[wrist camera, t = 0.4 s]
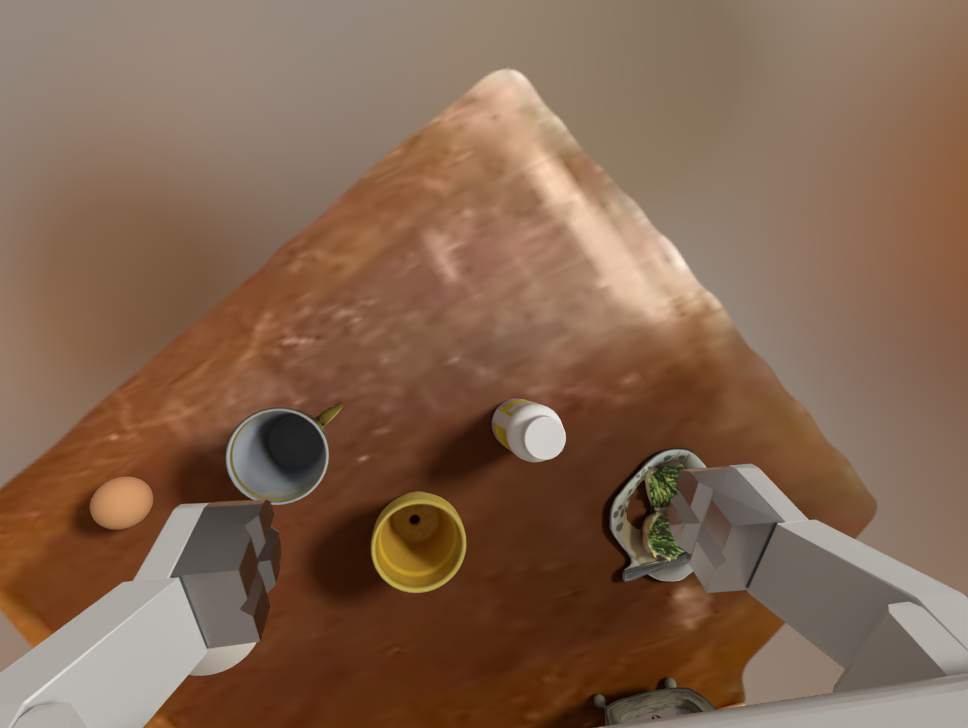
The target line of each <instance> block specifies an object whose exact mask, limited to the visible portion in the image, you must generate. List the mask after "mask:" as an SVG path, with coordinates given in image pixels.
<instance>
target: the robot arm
mask: <svg viewBox="0 0 968 728" xmlns="http://www.w3.org/2000/svg"><path fill="white" fill-rule="evenodd" d="M675 485H676V487H677V488H678V490H679V493H678V494H677V495H676V496H675V497H674V498H673V499H671V500H670V504H669V508H668V523H669V528H670V531H671V534H672V536H673V538H674V540H675V541H676V543H677V545H678V546H679V547H680V548H682V549H683V550H685V551H686V552H688V553H689V554H691V557H690V563H689V565H690V566H691V568H692V570H693V571H694V573H695V574H696V576H697V578H698V579H699V581H700V583H701V584H702V586H703V587H704V589H705V591H706V592H707V593H711V592H724V591H737V590H748V591H747V592H748V593H749V594H750V595H752V596H753V597H754V598H755V599H757V600H758V601H759V602H761V603H762V604H763V605H764V606H766V607H767V608H768V609H769V610H771V611H772V612H773V613H774V614H776V615H777V616H778V617H780V618H781V619H782V620H783V621H785V622H786V623H787V624H788V625H790V626H791V627H792V628H794V629H795V630H796V631H797V632H799V633H800V634H801V635H802V636H804V637H805V638H806V639H807V640H809V641H810V642H811V643H813V644H814V645H815V646H816V647H818V648H819V649H820V650H821V651H823V652H824V653H825V654H826V655H828V656H829V657H830V658H832V659H833V660H834V661H835V662H837V663H838V664H839V665H841V666H842V667H843V668H844V669H845V671H844V672H843V674H842V675H841V677H840V678H839V680H838V681H837V683H836V684H835V686H834V690H833V693H829V694H822V695H816V696H809V697H802V698H795V699H788V700H781V701H774V702H768V703H761V704H754V705H747V706H740V707H733V708H726V709H719V710H712V711H705V712H699V713H692V714H685V715H678V716H671V717H664V718H657V719H650V720H643V721H637V722H630V723H623V724H616V725H609V726H602V727H595V728H968V598H967V597H966V596H965V595H963V594H962V593H960V592H958V591H956V590H954V589H952V588H950V587H948V586H946V585H944V584H942V583H940V582H938V581H936V580H934V579H932V578H930V577H928V576H926V575H924V574H922V573H920V572H918V571H917V570H915V569H913V568H910V567H909V566H907V565H905V564H903V563H901V562H899V561H897V560H895V559H893V558H891V557H889V556H887V555H885V554H883V553H881V552H879V551H877V550H875V549H873V548H871V547H869V546H867V545H865V544H863V543H861V542H859V541H857V540H855V539H853V538H851V537H849V536H847V535H845V534H843V533H841V532H839V531H837V530H835V529H833V528H831V527H829V526H827V525H825V524H823V523H821V522H819V521H817V520H808V519H807V518H806V517H805V516H804V515H803V514H802V513H801V511H800V510H799V509H798V508H797V507H796V506H795V505H794V504H793V503H792V502H791V501H790V500H789V499H788V498H787V497H786V496H785V495H784V494H783V493H782V492H781V491H780V490H779V489H778V488H777V486H776V485H775V484H774V483H773V482H772V481H771V480H770V479H769V478H768V477H767V476H766V475H765V474H764V473H763V472H762V471H761V470H760V469H759V468H758V467H756V466H754V465H752V464H743V465H732V466H727V467H725V466H723V467H710V468H698V469H685V470H682V471H681V472H680V473H679V474H678V477H677V480H676V483H675ZM273 517H274V512H273V509H272V505H271V502H270V501H268V500H246V501H226V502H210V503H197V504H180V505H179V506H178V507H176V508H175V509H174V510H173V511H172V513H171V515H170V516H169V518H168V520H167V522H166V523H165V525H164V527H163V529H162V530H161V532H160V534H159V536H158V537H157V539H156V541H155V543H154V544H153V546H152V548H151V550H150V551H149V553H148V555H147V557H146V558H145V560H144V562H143V564H142V565H141V567H140V569H139V571H138V572H137V574H136V576H135V578H134V579H133V581H131V582H123V583H121V584H120V585H118V586H117V587H116V588H114V589H113V590H112V591H110V592H109V593H108V594H106V595H105V596H104V597H102V598H101V599H100V600H98V601H97V602H95V603H94V604H93V605H91V606H90V607H89V608H87V609H86V610H85V611H83V612H82V613H81V614H79V615H78V616H77V617H75V618H74V619H73V620H71V621H70V622H68V623H67V624H66V625H64V626H63V627H62V628H60V629H59V630H58V631H56V632H55V633H54V634H52V635H51V636H50V637H48V638H47V639H45V640H44V641H43V642H41V643H40V644H39V645H37V646H36V647H35V648H33V649H32V650H31V651H29V652H28V653H27V654H25V655H24V656H23V657H21V658H20V659H19V660H17V661H16V662H14V663H13V664H12V665H10V666H9V667H8V668H6V669H5V670H4V671H2V672H1V673H0V728H143V727H144V726H145V724H146V723H147V722H148V721H149V720H150V719H151V717H152V716H153V715H154V714H155V713H156V712H157V710H158V709H159V708H160V707H161V706H162V705H163V703H164V702H165V701H166V700H167V699H168V698H169V697H170V695H171V694H172V693H173V692H174V691H175V690H176V688H177V687H178V686H179V685H180V684H181V683H182V681H183V680H184V679H185V678H186V677H187V676H188V674H189V673H190V672H191V671H192V670H193V669H194V667H195V666H196V665H197V664H198V663H199V662H200V661H201V659H202V658H203V657H204V656H205V655H206V654H207V652H208V650H207V649H210V648H218V647H225V646H232V645H240V644H247V643H254V642H260V641H261V638H262V634H263V630H264V627H265V623H266V619H267V616H268V612H269V608H270V604H269V600H268V596H267V592H268V591H270V590H271V589H272V588H273V587H274V586H275V585H276V582H277V578H278V574H279V570H280V560H281V545H280V538H279V533H278V532H277V531H276V530H275V529H273V528H272V527H271V523H272V520H273Z"/></svg>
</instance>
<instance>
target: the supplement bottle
mask: <svg viewBox="0 0 968 728" xmlns="http://www.w3.org/2000/svg"><path fill="white" fill-rule="evenodd" d="M492 430H493V433H494V435H495V437H496V439H497V440H498V441H499V442H500V443H501V444H502V445H503V446H505V447H506V448H507V449H509V450H510V451H511V452H512V453H514V454H515V455H516V456H518V457H519V458H521V459H523V460H525V461H529V462H541V461H544V460H548V459H552V458H554V457H555V456H557V455H558V454H559V453H560V452H561V451H562V449H563V447H564V445H565V441H566V434H565V430H564V428H563V426H562V423H561V420H560V418H559V417H558V415H557V414H556V413H555V412H554V411H553V410H552V409H550V408H548V407H546V406H543V405H540V404H537V403H534V402H531V401H527V400H524V399H511V400H508V401H506V402H504V403H502V404H501V405H500V406H499V407H498V408H497V410H496V411H495V413H494V415H493V419H492Z"/></svg>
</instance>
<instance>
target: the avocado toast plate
mask: <svg viewBox="0 0 968 728" xmlns="http://www.w3.org/2000/svg"><path fill="white" fill-rule="evenodd" d="M698 468H707V467H706V466H705V465H704V463H703V462H702V461H701V460H700V459H699V458H698V457H697V456H696V454H695V453H694V452H692V451H691V450H688V449H684V448H671V449H667V450H663V451H661V452H659V453H657V454H655V455H653V456H652V457H650V458H649V459H648V460H647V461H645V463H644V464H643V466H642V467H641V469H640V470H639V471H638V472H637V473H636V474H635V475H634V476H633V477H632V478H631V479H630V480H629V481H628V482H627V483H626V485H625V486H624V488H623V489H622V490H621V492H620V493H619V494H618V495H617V496H616V497H615V499H614V501H613V504H612V507H611V510H610V526H609V527H610V530H611V532H612V534H613V536H614V537H615V538H616V539H617V541H618V543H619V544H620V545H621V547H622V548H623V549H624V550H625V551H626V552H627V553H628V555H629V557H630V559H631V564H630V565H629V566H628V567H627V568H626V569H625V570H624V571H623V573H622V577H623V580H624V581H632V580H635V579H637V578H640V577H642V576H645V575H649V576H651V577H653V578H655V579H657V580H661V581H678V580H682V579H684V578H685V577H686V576H687V575H689V574H690V573H691V572H692V571H693V570H692V568H691V566H690V565H689V563H690V557H691V554H689V553H688V552H686V551H685V550H683V549H682V548H680V547H679V546H678V545H677V543H676V541H675V540H674V538H673V536H672V534H671V531H670V528H669V523H668V508H669V504H670V500H671V499H673V498H674V497H675V496H676V495H677V494H678V493H679V490H678V488H677V487H676V485H675V483H676V480H677V477H678V474H679V473H680V472H681V471H682V470H685V469H698ZM643 480H644V481H645V485H646V491H647V496H648V498H649V501H650V504H651V510H650V513H649V516H647V517H646V518H645V520H644V521H643V525H642V528H641V529H636V528H635V527H633V526H632V525H631V524H630V523H629V522H628V521H627V507H628V503H629V500H630V498H631V495H632V493H633V492H634V490H635V489H636V487H637V486H638V485H639V484H640V483H641V482H642V481H643Z"/></svg>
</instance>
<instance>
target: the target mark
mask: <svg viewBox="0 0 968 728" xmlns="http://www.w3.org/2000/svg"><path fill="white" fill-rule="evenodd" d="M255 644H256V642H254V643H247V644H240V645H232V646H225V647H218V648H210V649H207V650H208V652H207V654H206V655H205V656H204V657H203V658H202V659H201V661H200V662H199V663H198V664H197V665H196V666H195V667H194V669H193V670H192V671H191V672H190V673H189V674H188V675H194V676H203V675H211V674H215V673H219V672H222V671H224V670H226V669H229V668H231V667H232V666H234V665H236V664H237V663H239V662H240V661H241V660H242V659H244V658H245V657H246V656H247V655H248V654H249V653H250V651H251V650H252V649H253V647H254V646H255Z"/></svg>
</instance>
